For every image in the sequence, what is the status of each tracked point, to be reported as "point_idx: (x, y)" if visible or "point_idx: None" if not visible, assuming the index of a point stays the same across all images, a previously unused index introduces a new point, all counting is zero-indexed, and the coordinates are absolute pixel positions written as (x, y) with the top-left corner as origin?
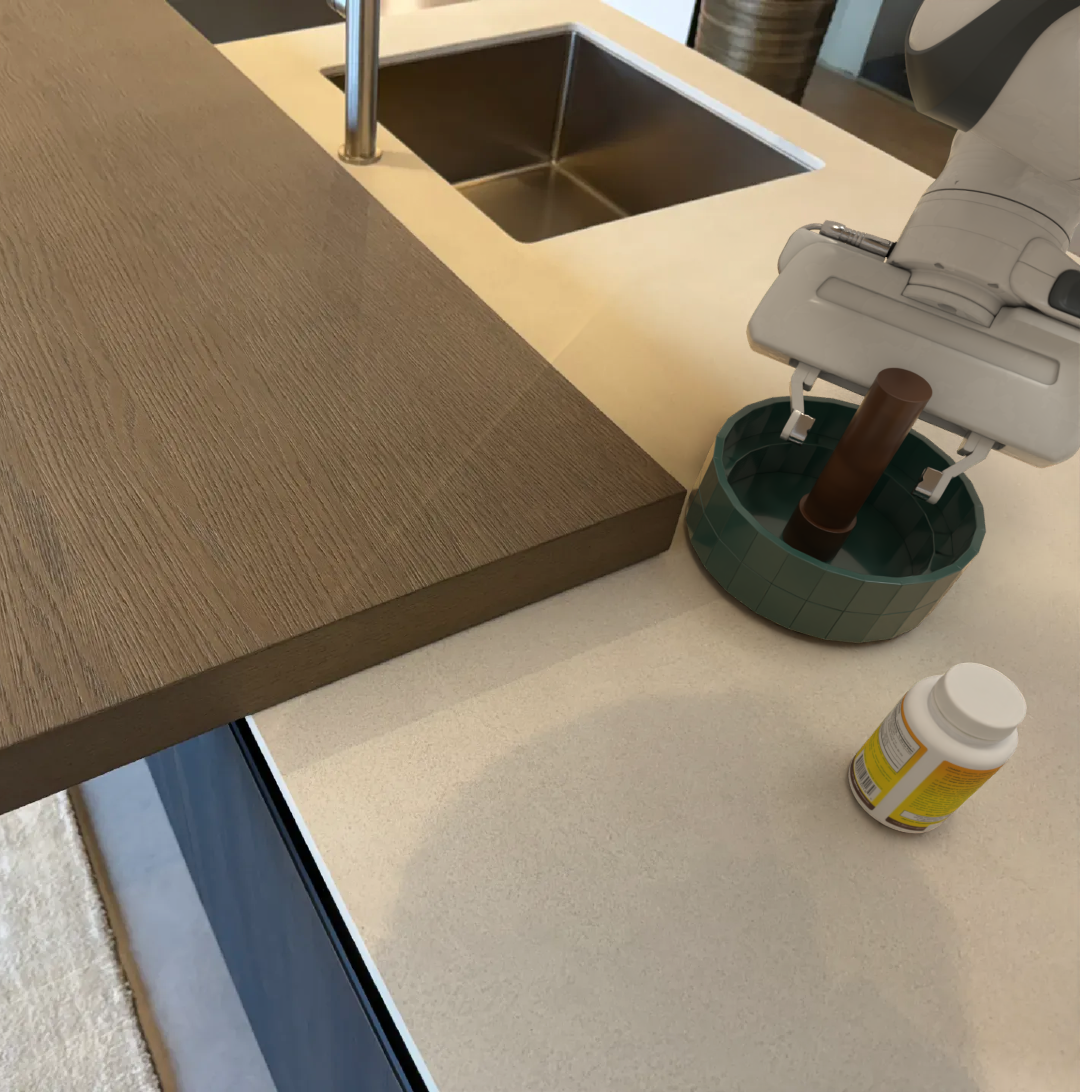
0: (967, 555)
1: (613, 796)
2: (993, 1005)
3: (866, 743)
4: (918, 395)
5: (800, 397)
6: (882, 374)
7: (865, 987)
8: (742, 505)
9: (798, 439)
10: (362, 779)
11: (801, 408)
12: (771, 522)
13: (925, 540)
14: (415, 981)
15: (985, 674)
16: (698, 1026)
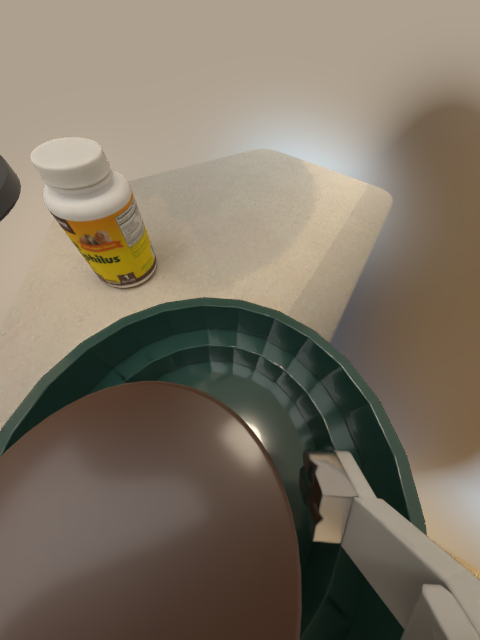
0: (22, 411)
1: (262, 216)
2: None
3: (149, 249)
4: (36, 484)
5: (399, 533)
6: (275, 591)
7: (144, 196)
8: (293, 479)
9: (315, 450)
10: (347, 189)
11: (368, 506)
12: None
13: None
14: (286, 157)
15: (61, 162)
16: (202, 172)
